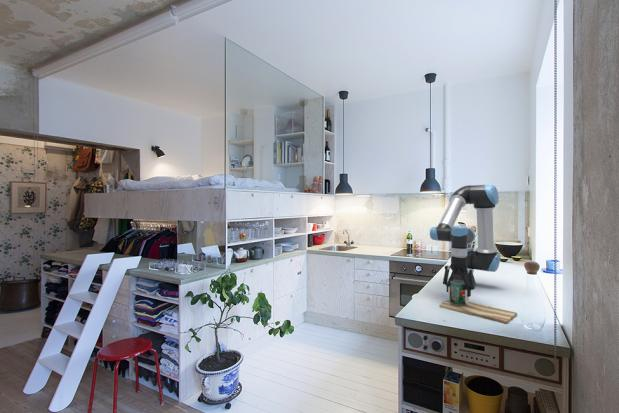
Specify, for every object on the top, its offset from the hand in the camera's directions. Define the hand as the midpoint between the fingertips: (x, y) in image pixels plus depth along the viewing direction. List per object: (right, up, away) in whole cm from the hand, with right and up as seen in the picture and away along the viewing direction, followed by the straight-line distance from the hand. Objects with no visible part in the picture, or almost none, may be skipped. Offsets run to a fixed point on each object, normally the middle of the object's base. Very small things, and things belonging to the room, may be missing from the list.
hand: (458, 300), depth 162 cm
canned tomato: (0, -1, 0) cm, 1 cm away
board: (+6, -3, -6) cm, 9 cm away
